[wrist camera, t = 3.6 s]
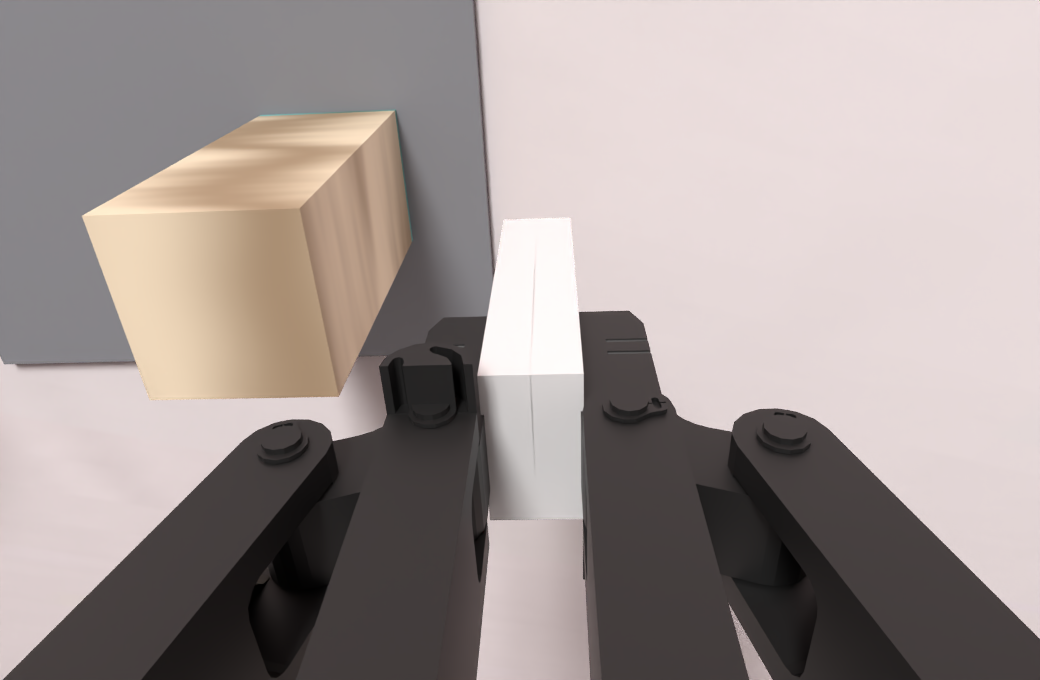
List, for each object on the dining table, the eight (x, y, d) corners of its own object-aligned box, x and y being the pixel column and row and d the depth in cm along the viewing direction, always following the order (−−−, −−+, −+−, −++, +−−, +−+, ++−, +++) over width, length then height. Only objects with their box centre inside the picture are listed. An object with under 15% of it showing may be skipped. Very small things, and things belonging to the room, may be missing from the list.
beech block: (289, 243, 25) (149, 400, 16) (260, 115, 23) (81, 216, 14) (412, 239, 25) (338, 396, 16) (395, 109, 23) (299, 208, 14)
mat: (10, 359, 28) (4, 364, 28) (-247, -189, 20) (-261, -191, 19) (498, 348, 27) (497, 353, 27) (457, -238, 18) (455, -241, 18)
